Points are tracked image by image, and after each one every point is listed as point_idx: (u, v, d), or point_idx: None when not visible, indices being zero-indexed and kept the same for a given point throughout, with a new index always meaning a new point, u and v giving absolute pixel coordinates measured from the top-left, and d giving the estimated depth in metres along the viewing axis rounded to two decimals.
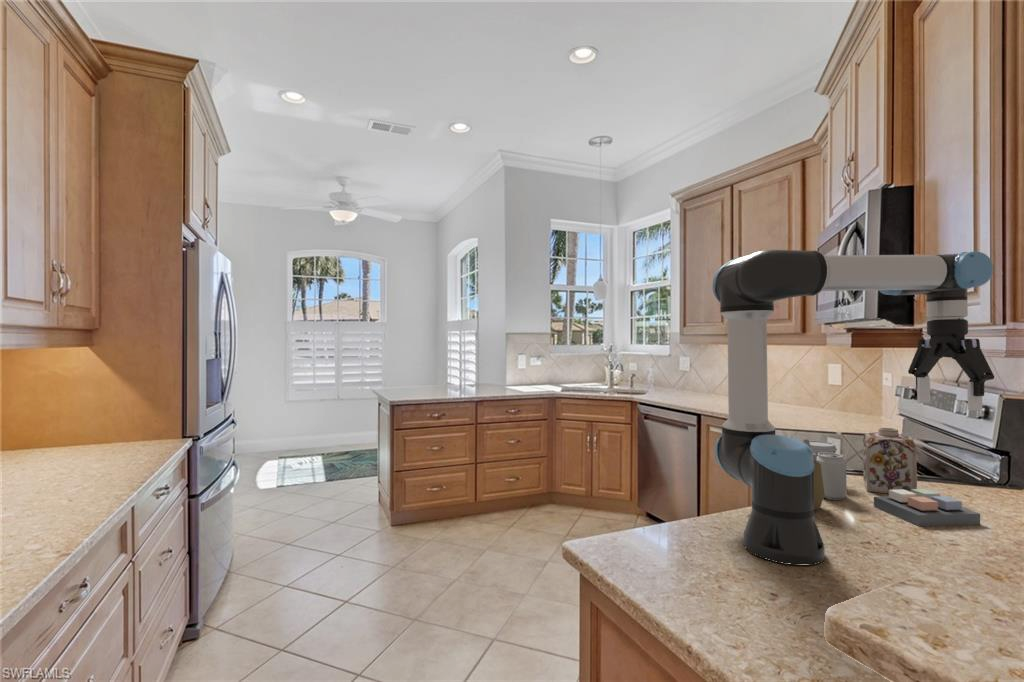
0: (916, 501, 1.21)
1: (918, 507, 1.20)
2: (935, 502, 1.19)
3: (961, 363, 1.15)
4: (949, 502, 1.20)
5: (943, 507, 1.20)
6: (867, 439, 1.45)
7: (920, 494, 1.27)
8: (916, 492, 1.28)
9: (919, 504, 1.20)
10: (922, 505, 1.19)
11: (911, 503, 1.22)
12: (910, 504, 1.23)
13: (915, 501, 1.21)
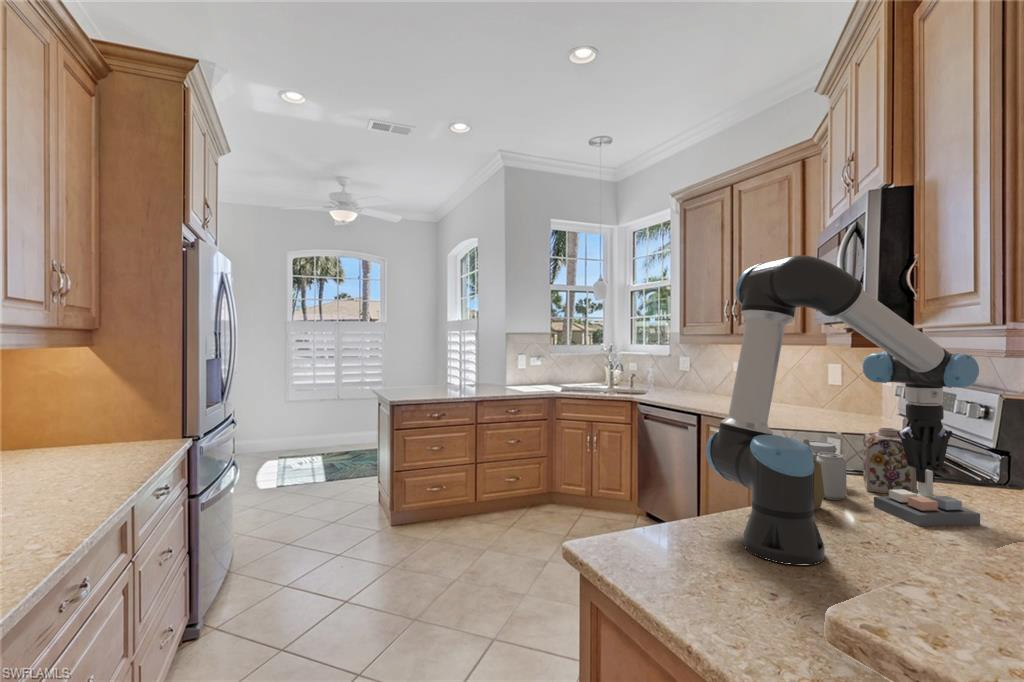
0: (916, 501, 1.21)
1: (918, 507, 1.20)
2: (935, 502, 1.19)
3: None
4: (949, 502, 1.20)
5: (943, 507, 1.20)
6: (867, 439, 1.45)
7: None
8: None
9: (919, 504, 1.20)
10: (922, 505, 1.19)
11: (911, 503, 1.22)
12: (910, 504, 1.23)
13: (915, 501, 1.21)
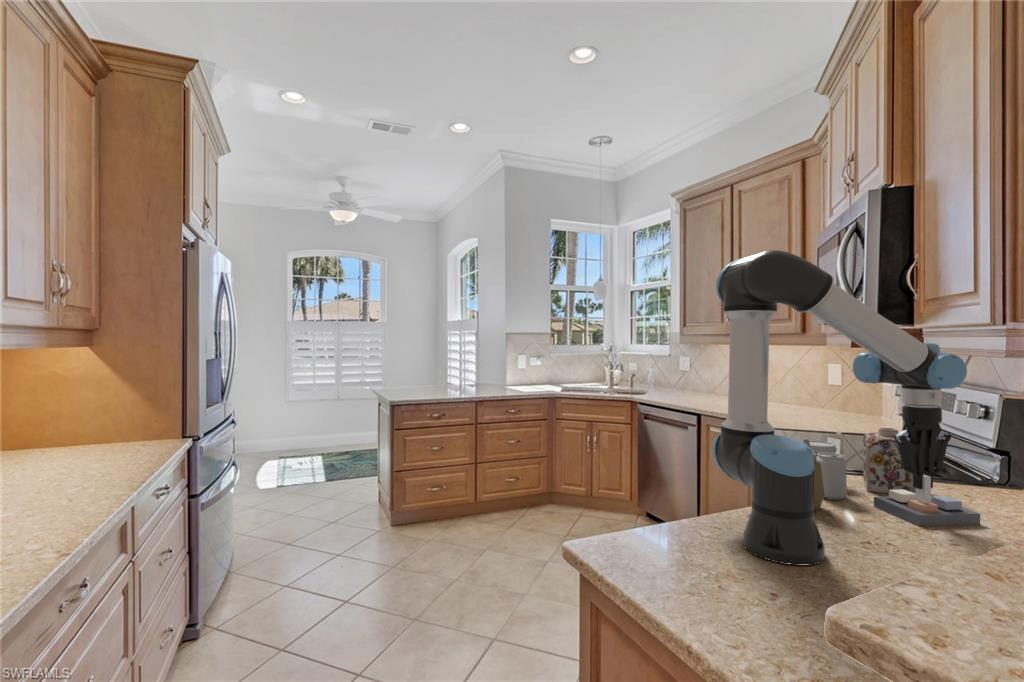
0: (916, 504, 1.21)
1: (918, 510, 1.20)
2: (935, 505, 1.19)
3: None
4: (949, 502, 1.20)
5: (943, 507, 1.20)
6: (867, 439, 1.45)
7: None
8: None
9: (919, 508, 1.20)
10: (922, 509, 1.19)
11: (911, 506, 1.22)
12: (910, 507, 1.23)
13: (915, 504, 1.21)
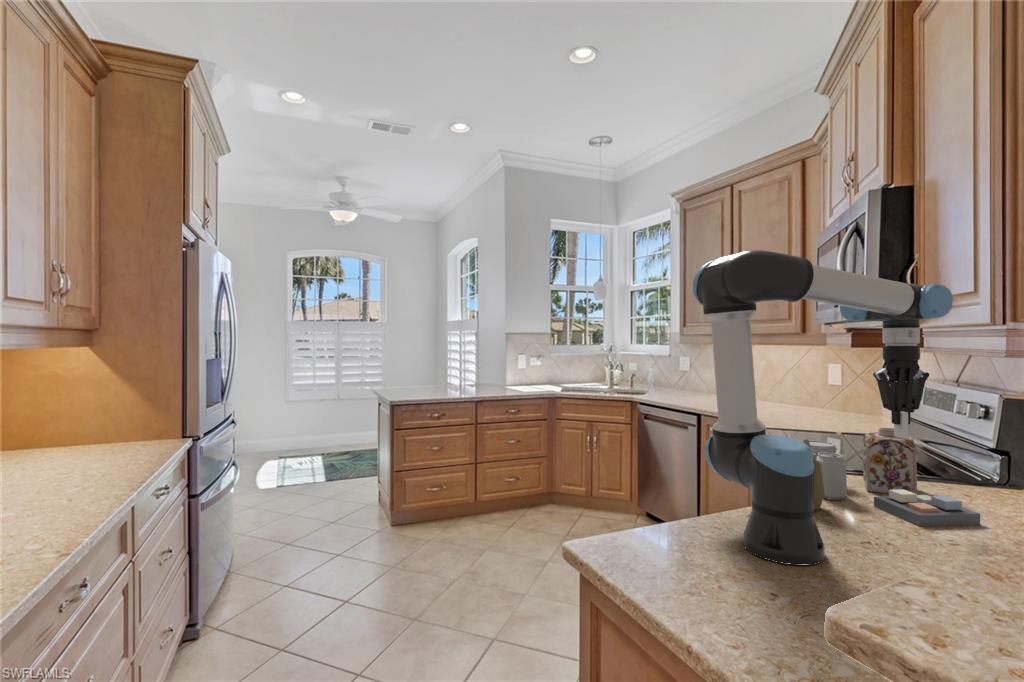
0: (916, 507, 1.21)
1: None
2: (935, 508, 1.19)
3: None
4: (949, 502, 1.20)
5: (943, 507, 1.20)
6: (867, 439, 1.45)
7: (920, 500, 1.27)
8: None
9: (919, 511, 1.20)
10: (922, 512, 1.19)
11: None
12: None
13: (915, 507, 1.21)
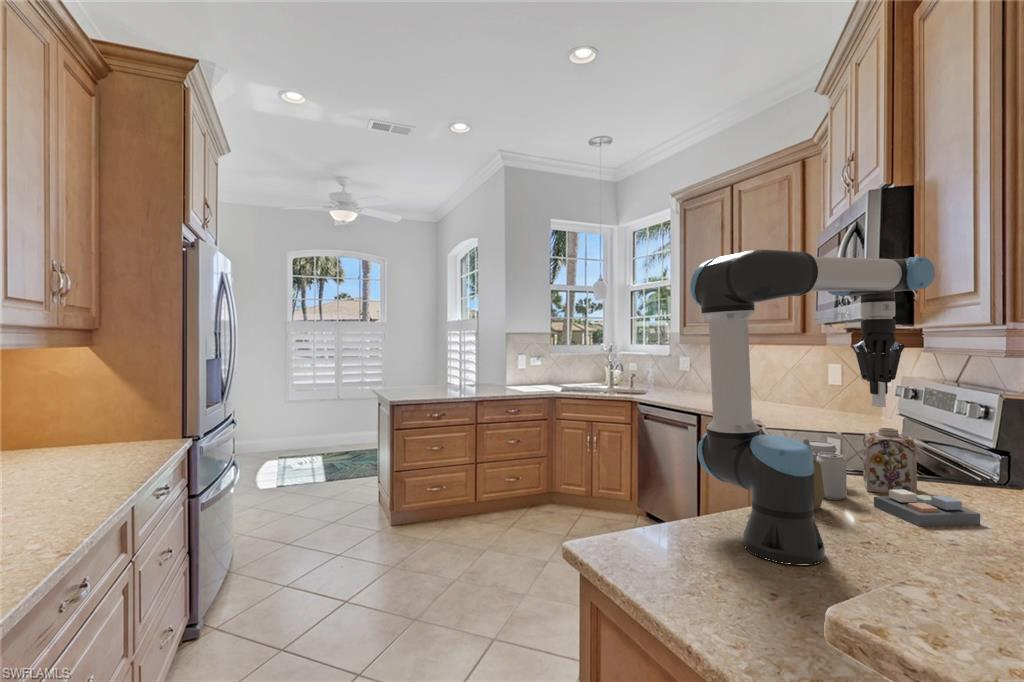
0: (916, 507, 1.21)
1: None
2: (935, 508, 1.19)
3: None
4: (949, 502, 1.20)
5: (943, 507, 1.20)
6: (867, 439, 1.45)
7: (920, 500, 1.27)
8: None
9: (919, 511, 1.20)
10: (922, 512, 1.19)
11: None
12: None
13: (915, 507, 1.21)
